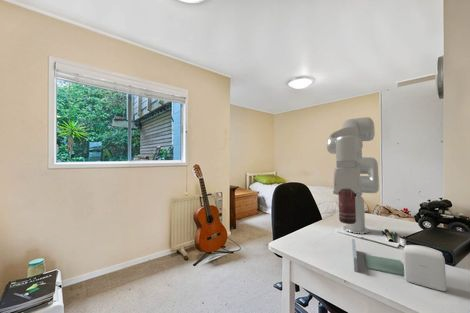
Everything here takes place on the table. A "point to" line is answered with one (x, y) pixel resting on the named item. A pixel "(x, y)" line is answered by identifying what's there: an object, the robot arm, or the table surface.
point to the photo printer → (424, 267)
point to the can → (347, 206)
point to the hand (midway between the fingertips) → (347, 208)
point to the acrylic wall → (354, 255)
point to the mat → (384, 265)
